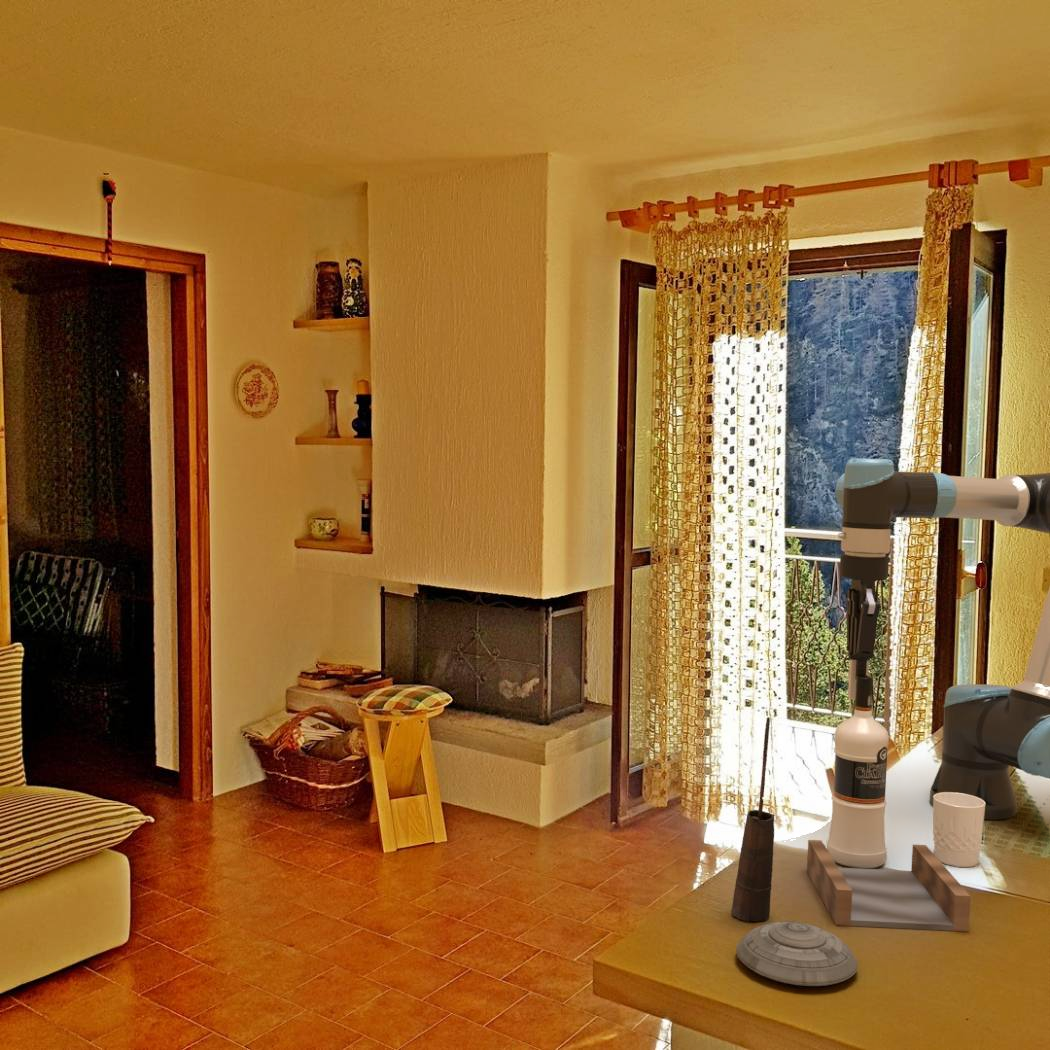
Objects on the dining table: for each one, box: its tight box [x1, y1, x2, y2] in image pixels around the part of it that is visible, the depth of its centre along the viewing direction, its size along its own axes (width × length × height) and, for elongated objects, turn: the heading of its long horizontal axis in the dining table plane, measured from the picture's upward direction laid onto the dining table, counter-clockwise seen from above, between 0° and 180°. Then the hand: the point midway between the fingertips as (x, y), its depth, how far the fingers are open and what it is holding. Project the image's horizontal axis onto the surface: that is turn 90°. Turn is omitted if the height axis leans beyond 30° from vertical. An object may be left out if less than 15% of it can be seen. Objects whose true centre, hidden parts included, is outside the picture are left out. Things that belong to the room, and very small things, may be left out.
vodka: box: [826, 675, 890, 869], centre depth 179 cm, size 9×9×30 cm
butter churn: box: [731, 716, 775, 923], centre depth 155 cm, size 9×10×28 cm
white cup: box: [932, 792, 986, 868], centre depth 180 cm, size 8×8×10 cm
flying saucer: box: [735, 920, 859, 987], centre depth 141 cm, size 15×15×6 cm
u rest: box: [806, 839, 971, 933], centre depth 163 cm, size 20×18×5 cm
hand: (857, 698), depth 181 cm, fingers closed
